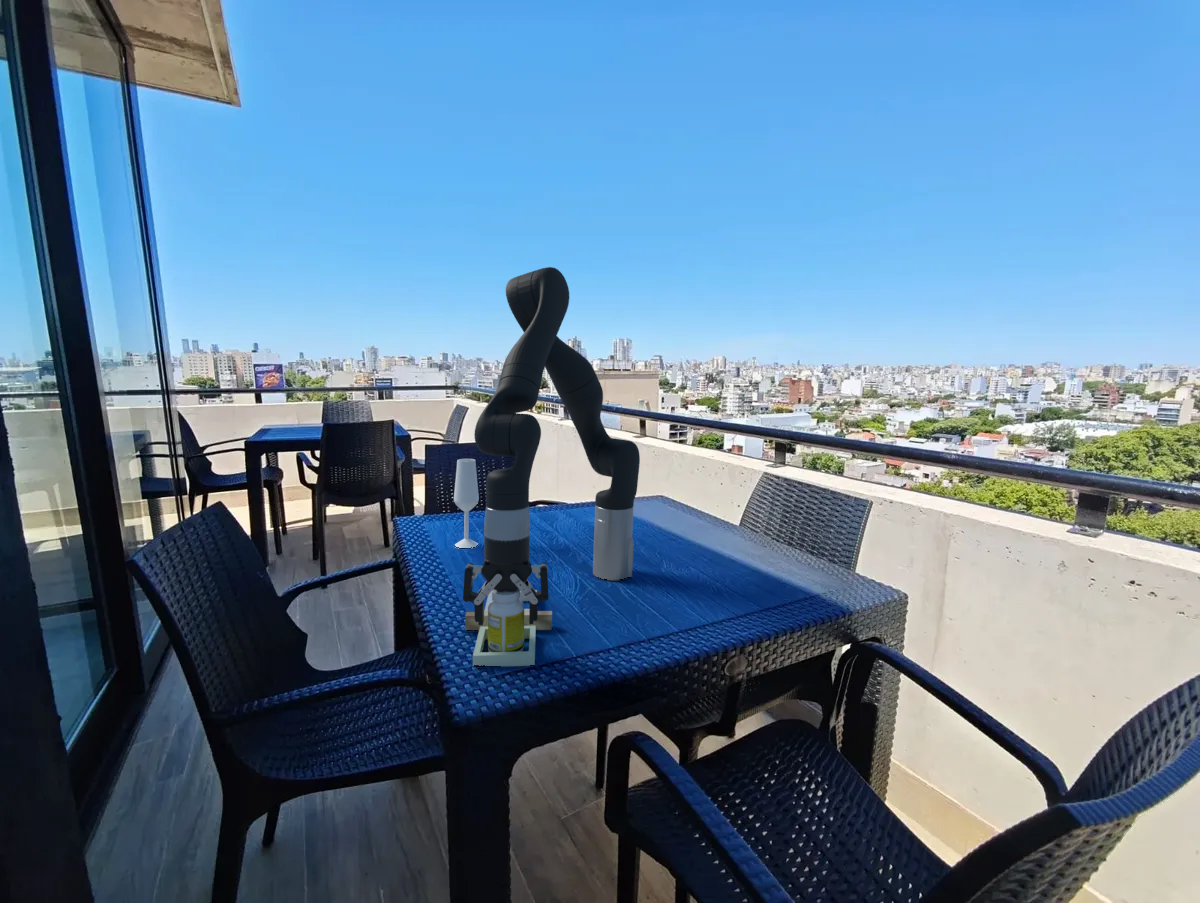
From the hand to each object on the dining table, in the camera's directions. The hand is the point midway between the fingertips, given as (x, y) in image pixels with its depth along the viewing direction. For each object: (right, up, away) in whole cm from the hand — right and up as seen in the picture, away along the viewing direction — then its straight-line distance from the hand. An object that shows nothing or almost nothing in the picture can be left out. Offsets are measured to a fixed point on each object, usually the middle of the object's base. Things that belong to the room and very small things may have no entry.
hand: (506, 622), depth 89 cm
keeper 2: (0, -5, +1) cm, 5 cm away
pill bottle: (0, -5, +1) cm, 5 cm away
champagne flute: (-21, +3, +55) cm, 59 cm away
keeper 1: (-2, -3, +16) cm, 17 cm away
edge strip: (-1, -4, +9) cm, 9 cm away
